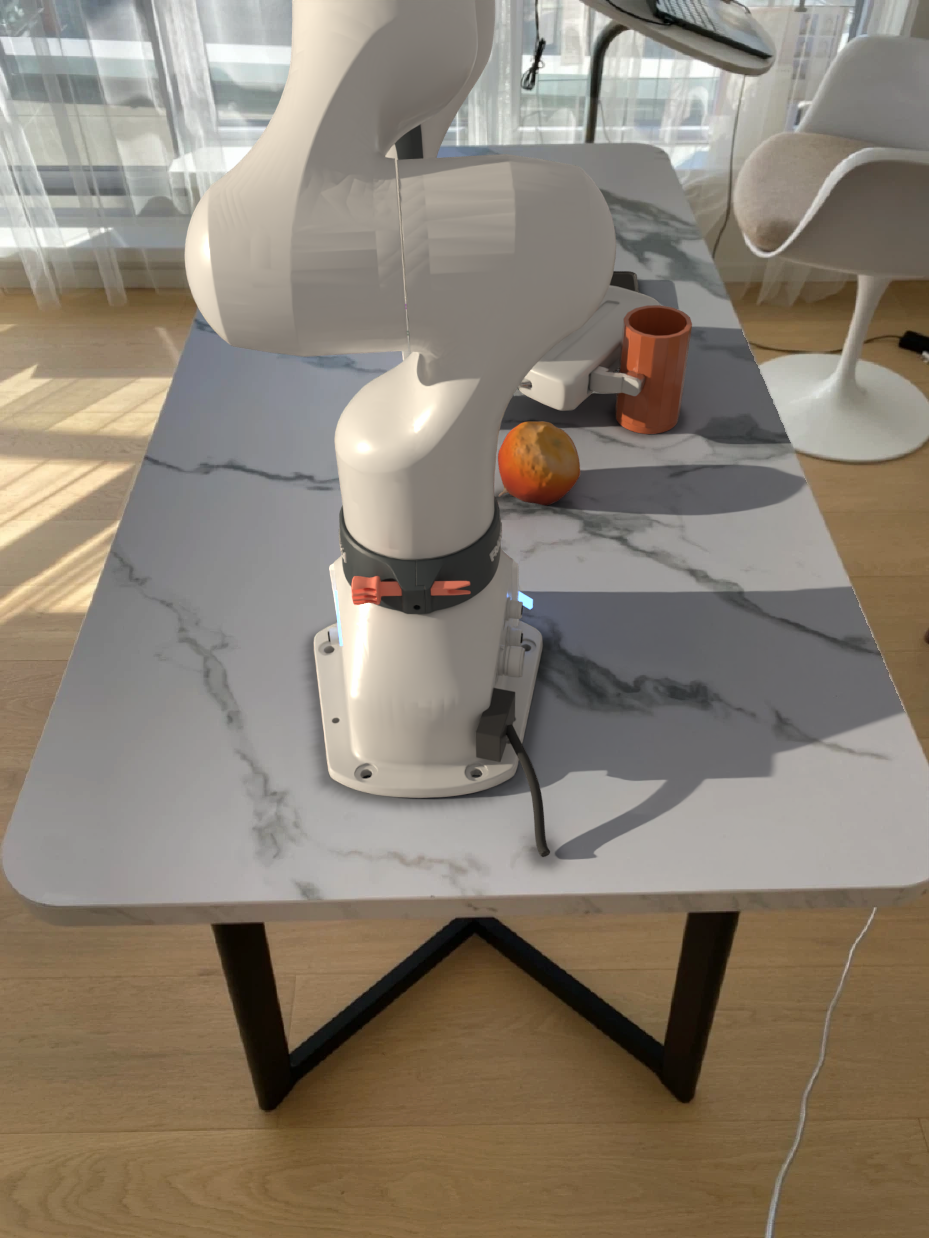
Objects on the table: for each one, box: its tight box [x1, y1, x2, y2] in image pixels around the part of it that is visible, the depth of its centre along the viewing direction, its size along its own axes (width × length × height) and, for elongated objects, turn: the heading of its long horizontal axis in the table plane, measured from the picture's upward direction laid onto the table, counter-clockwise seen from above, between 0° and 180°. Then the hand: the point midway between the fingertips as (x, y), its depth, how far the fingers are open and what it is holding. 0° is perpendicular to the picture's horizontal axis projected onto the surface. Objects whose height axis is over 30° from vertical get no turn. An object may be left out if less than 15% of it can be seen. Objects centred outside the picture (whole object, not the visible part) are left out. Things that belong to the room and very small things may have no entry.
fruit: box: [497, 421, 581, 507], centre depth 100 cm, size 8×8×8 cm
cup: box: [614, 304, 693, 435], centre depth 107 cm, size 7×7×11 cm
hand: (660, 368), depth 106 cm, fingers closed on cup, 7 cm apart
